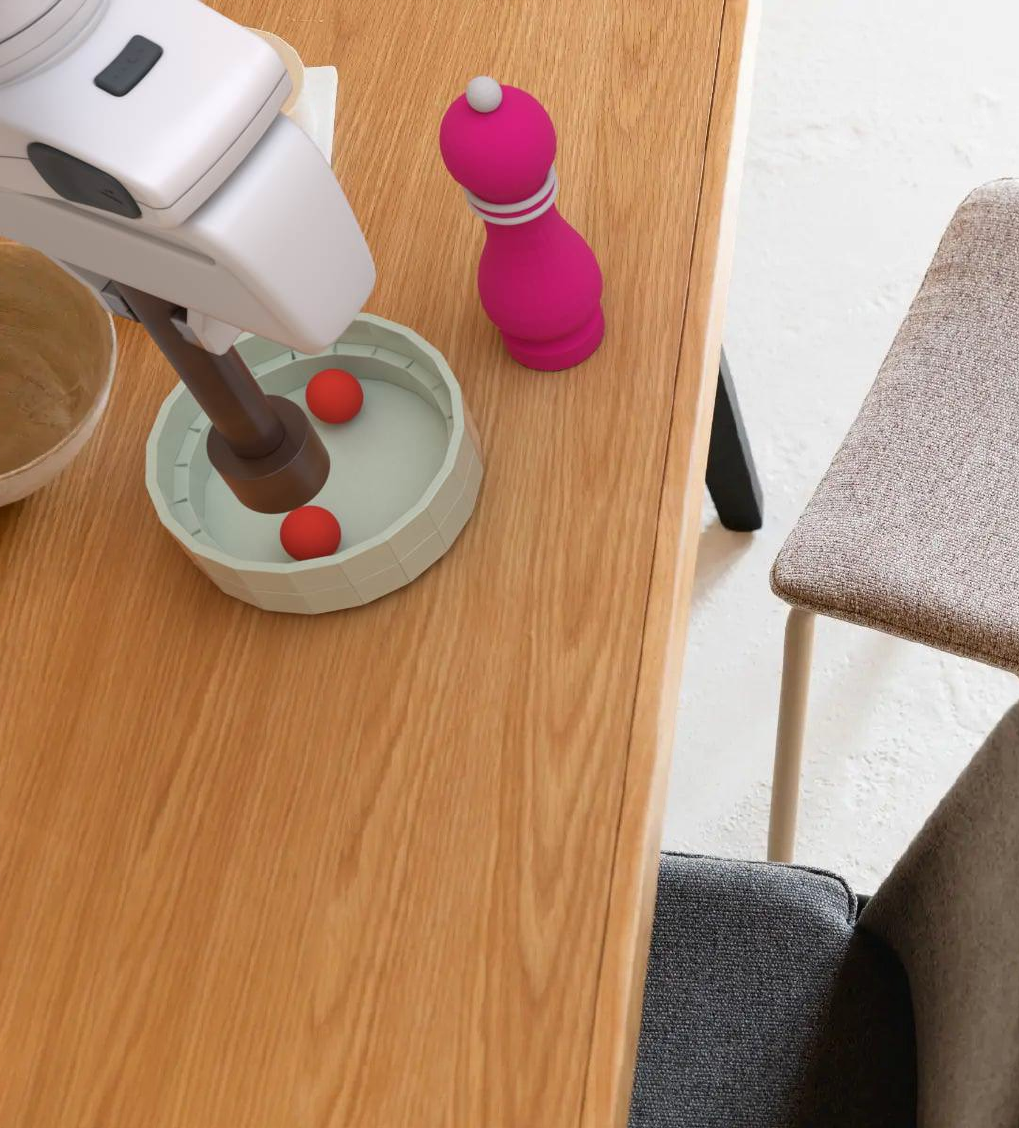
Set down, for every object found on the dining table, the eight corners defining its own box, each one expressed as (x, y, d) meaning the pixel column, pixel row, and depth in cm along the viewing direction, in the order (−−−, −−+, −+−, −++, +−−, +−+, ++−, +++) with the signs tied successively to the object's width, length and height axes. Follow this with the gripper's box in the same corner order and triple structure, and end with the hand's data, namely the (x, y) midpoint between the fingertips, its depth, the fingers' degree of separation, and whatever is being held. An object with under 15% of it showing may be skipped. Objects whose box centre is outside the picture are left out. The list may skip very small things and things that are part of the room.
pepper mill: (490, 381, 91) (399, 136, 73) (500, 287, 94) (415, 32, 77) (610, 376, 91) (547, 130, 73) (615, 283, 94) (556, 27, 77)
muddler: (294, 528, 66) (134, 300, 52) (212, 494, 67) (33, 260, 53) (349, 451, 68) (209, 210, 54) (269, 418, 69) (110, 173, 55)
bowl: (381, 664, 82) (350, 618, 77) (124, 554, 85) (79, 504, 80) (539, 424, 89) (520, 368, 84) (297, 332, 93) (265, 274, 88)
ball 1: (350, 441, 88) (333, 410, 85) (305, 424, 89) (286, 391, 86) (380, 400, 89) (364, 368, 86) (335, 383, 90) (318, 350, 87)
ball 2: (328, 581, 83) (309, 553, 81) (279, 561, 84) (259, 532, 81) (359, 536, 85) (342, 506, 82) (312, 516, 85) (293, 486, 83)
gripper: (-343, 13, 46) (-88, 295, 59) (200, 215, 42) (354, 475, 54) (-199, -113, 49) (17, 182, 61) (326, 64, 45) (446, 344, 57)
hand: (178, 321), depth 58 cm, fingers closed on muddler, 2 cm apart
